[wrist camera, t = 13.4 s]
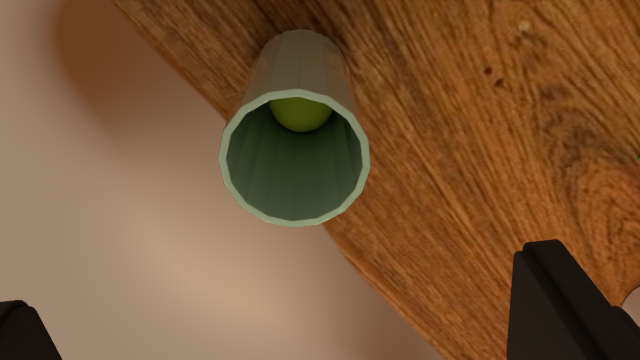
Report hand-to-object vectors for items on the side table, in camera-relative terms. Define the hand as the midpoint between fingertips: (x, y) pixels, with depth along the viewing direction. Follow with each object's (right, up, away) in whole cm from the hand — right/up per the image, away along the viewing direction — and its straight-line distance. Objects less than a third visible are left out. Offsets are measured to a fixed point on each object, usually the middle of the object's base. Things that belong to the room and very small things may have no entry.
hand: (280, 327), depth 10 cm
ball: (0, +7, +17) cm, 19 cm away
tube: (0, +9, +19) cm, 21 cm away
